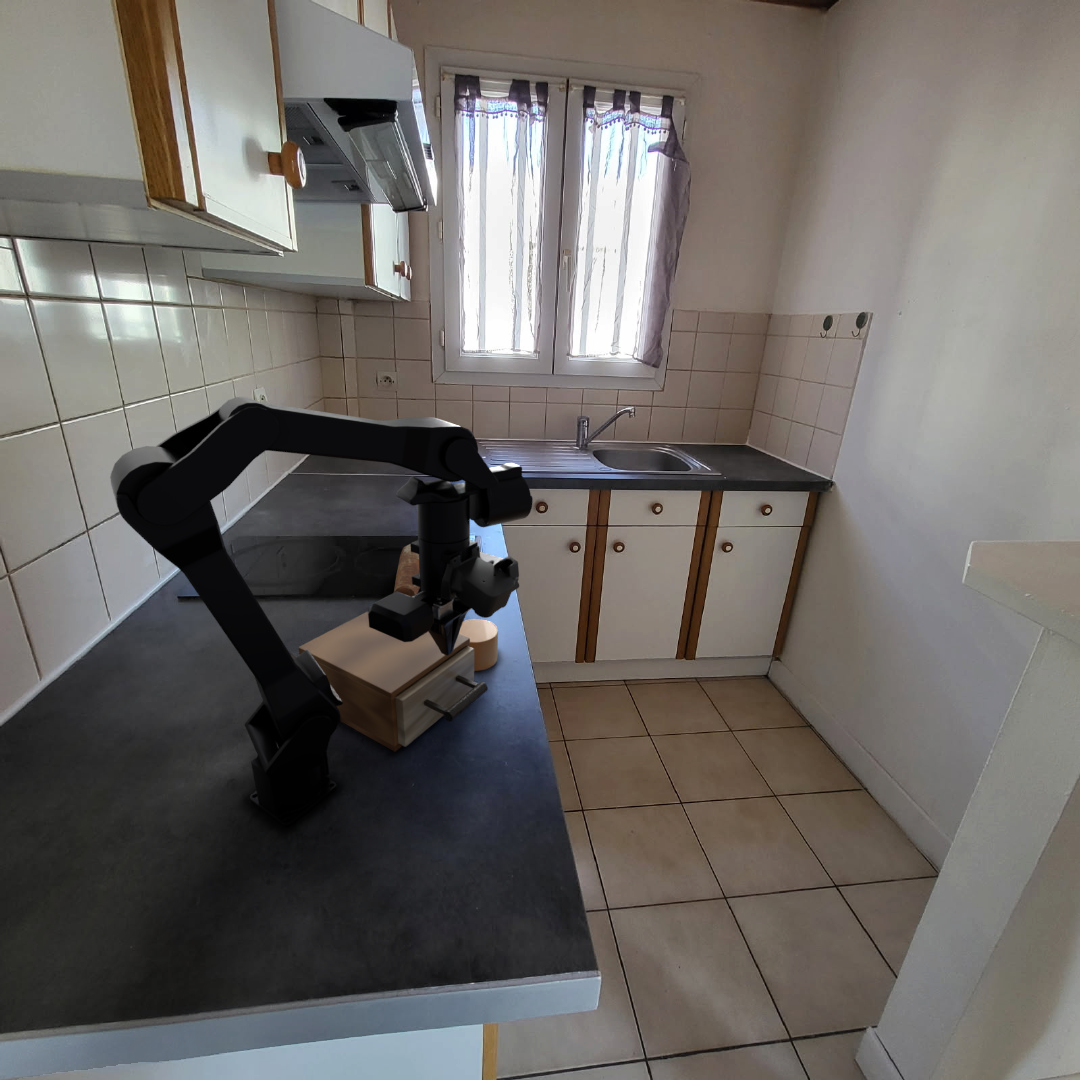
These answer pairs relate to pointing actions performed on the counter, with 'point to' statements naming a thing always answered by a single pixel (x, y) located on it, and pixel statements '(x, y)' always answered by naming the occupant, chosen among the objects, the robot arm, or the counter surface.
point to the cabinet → (374, 673)
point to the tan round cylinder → (482, 642)
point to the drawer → (438, 696)
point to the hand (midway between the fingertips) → (446, 653)
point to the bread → (407, 572)
